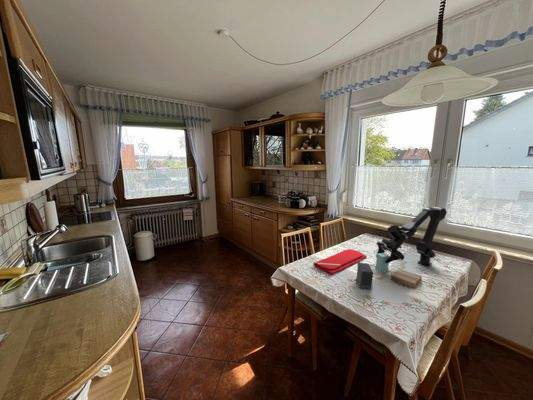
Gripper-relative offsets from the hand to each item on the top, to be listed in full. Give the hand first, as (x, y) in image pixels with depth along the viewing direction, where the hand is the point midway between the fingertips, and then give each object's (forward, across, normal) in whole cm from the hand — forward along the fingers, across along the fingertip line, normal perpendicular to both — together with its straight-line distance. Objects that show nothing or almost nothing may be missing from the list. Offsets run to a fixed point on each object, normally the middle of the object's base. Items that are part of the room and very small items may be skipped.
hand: (380, 259), depth 141 cm
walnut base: (+1, +15, +8) cm, 17 cm away
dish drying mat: (+18, -16, -8) cm, 25 cm away
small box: (+19, +12, -10) cm, 25 cm away
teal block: (+4, 0, +6) cm, 7 cm away
